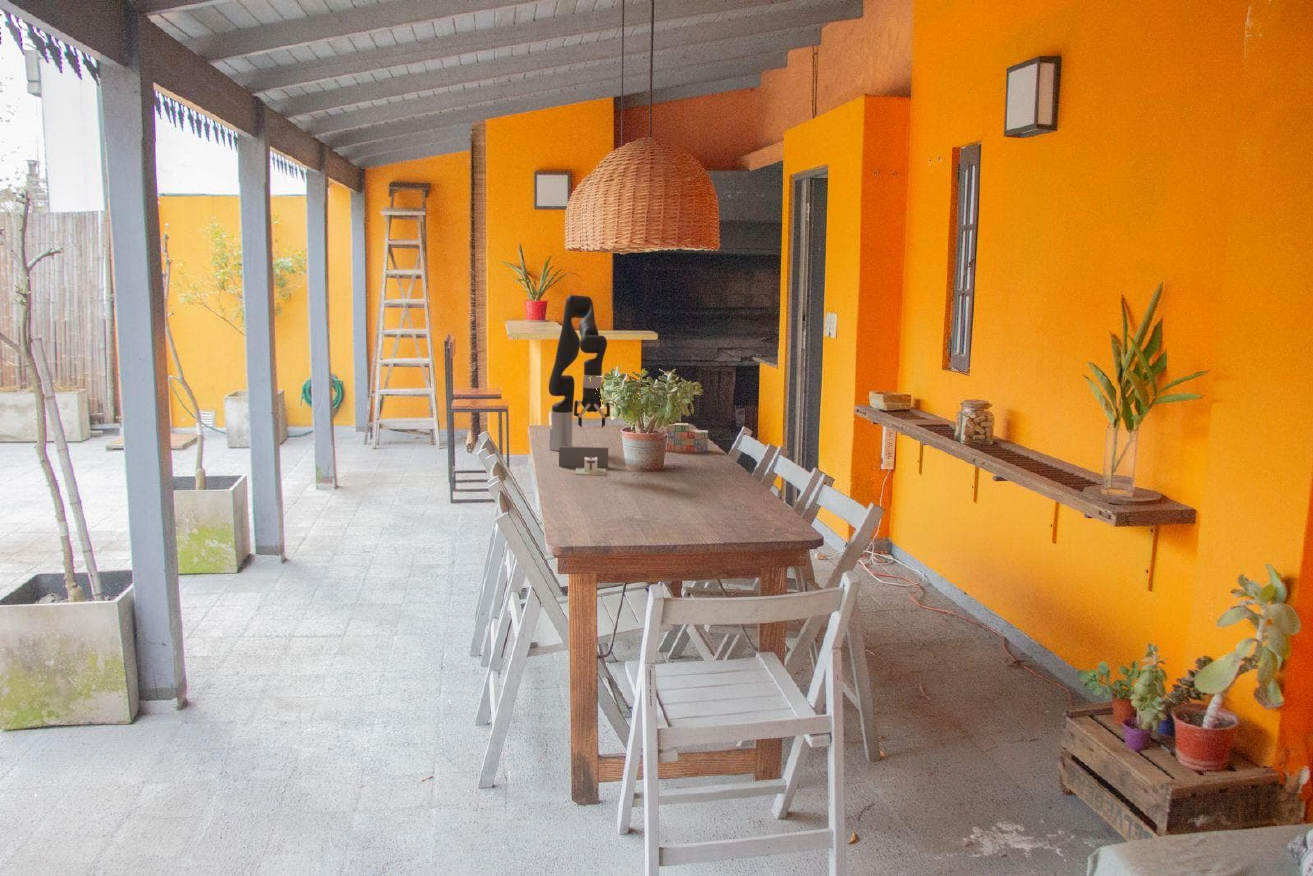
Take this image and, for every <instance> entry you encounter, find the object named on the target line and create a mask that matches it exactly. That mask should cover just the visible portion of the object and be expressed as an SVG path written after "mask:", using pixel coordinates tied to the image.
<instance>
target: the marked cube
mask: <svg viewBox="0 0 1313 876" xmlns="http://www.w3.org/2000/svg"><path fill="white" fill-rule="evenodd" d="M583 468H584V472H597V468H598V467H597V457H585V465H584V467H583Z"/></svg>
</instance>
